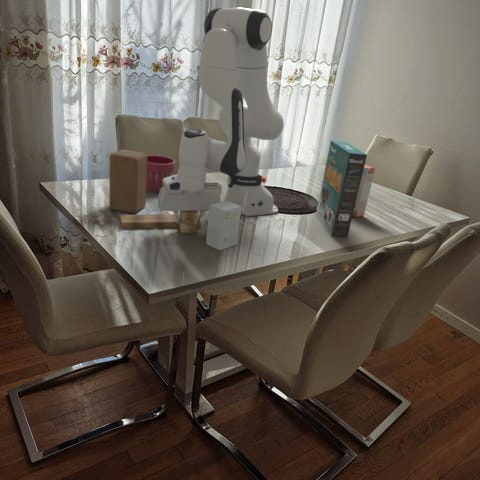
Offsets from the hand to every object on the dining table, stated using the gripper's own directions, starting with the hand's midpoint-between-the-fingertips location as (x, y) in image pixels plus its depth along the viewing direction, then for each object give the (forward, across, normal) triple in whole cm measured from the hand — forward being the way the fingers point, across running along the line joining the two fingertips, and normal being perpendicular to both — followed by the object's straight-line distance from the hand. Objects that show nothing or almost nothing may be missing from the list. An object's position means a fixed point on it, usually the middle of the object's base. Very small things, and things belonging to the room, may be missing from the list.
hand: (188, 222), depth 140 cm
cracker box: (+3, -73, -17) cm, 75 cm away
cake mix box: (+3, -56, -1) cm, 56 cm away
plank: (+3, +8, -6) cm, 10 cm away
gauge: (+3, 0, -2) cm, 3 cm away
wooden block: (+3, +17, -21) cm, 27 cm away
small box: (+3, -8, +12) cm, 15 cm away
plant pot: (+3, +3, -44) cm, 45 cm away
